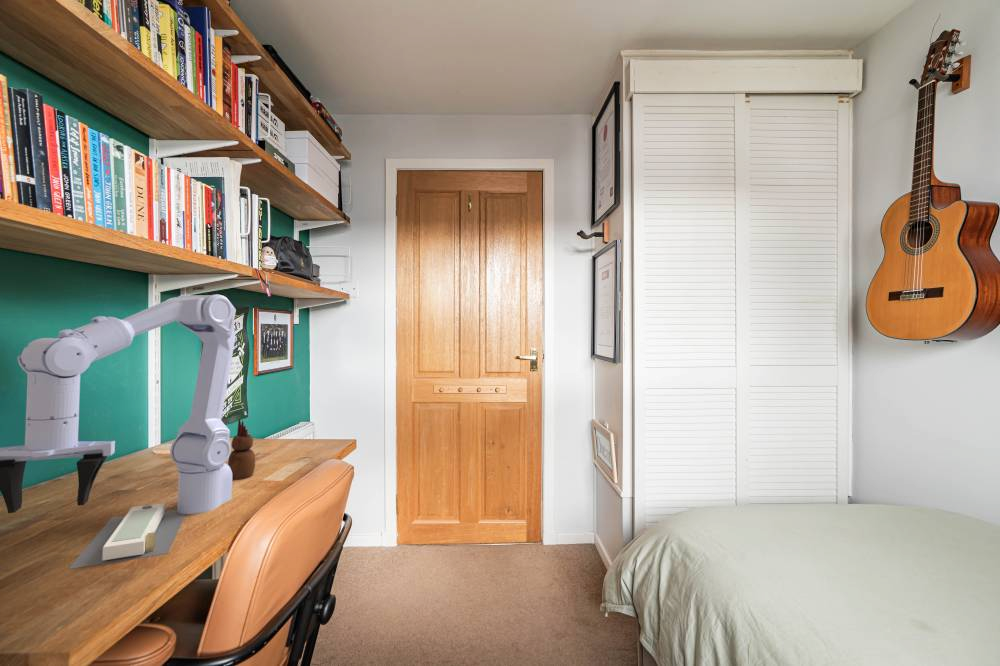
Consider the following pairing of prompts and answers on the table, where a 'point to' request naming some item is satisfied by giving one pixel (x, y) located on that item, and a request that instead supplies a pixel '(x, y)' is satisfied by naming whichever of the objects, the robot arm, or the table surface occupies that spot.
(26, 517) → the table surface
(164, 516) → the board
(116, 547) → the frame
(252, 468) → the wooden figurine
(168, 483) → the table surface
